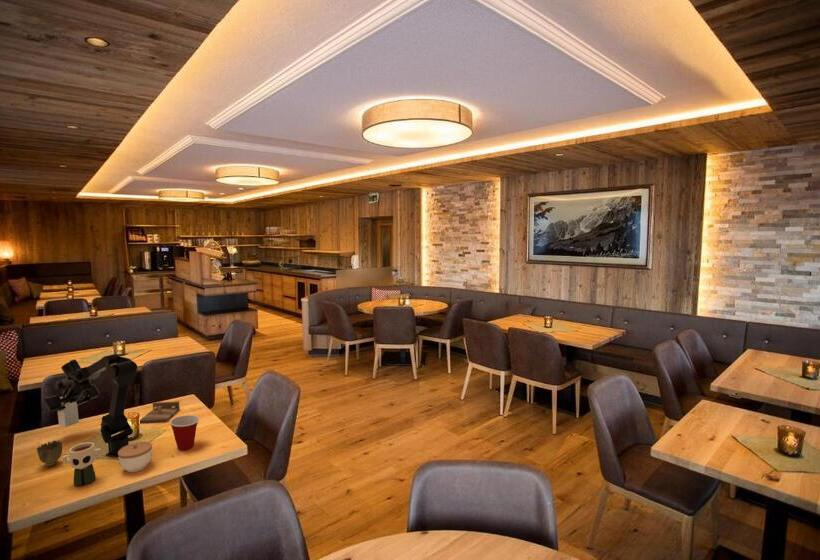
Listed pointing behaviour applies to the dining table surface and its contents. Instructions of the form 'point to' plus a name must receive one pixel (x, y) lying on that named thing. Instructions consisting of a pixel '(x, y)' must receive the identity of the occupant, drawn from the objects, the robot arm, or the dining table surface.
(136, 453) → the lidded jar
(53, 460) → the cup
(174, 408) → the brown flat stand
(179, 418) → the plastic cup
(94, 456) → the character mug
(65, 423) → the grey rectangular block
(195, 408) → the dining table surface
